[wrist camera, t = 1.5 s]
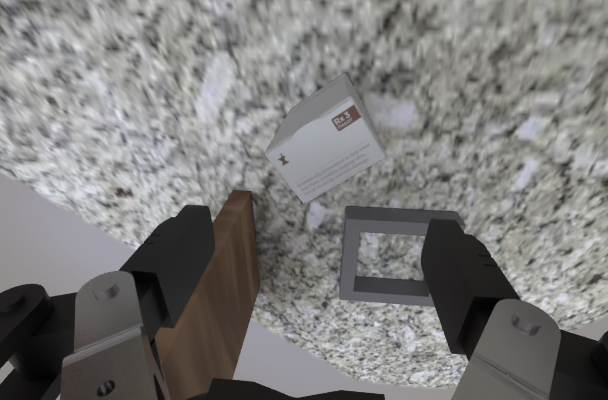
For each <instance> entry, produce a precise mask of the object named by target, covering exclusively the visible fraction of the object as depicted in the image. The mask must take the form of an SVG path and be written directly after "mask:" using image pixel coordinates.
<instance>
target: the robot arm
mask: <svg viewBox="0 0 608 400" xmlns="http://www.w3.org/2000/svg"><path fill="white" fill-rule="evenodd" d="M214 250H215V236H214V230H213V225H212V219H211V213H210V209H209V207H208V206H203V205H185V206H184V207H183V209H182V210H181V211H180V212H179V213H178V215H177V216H176V217H171V218H169V219H168V220H166V221H164V222H163V223H161V224H159V225H158V226H157V228H156V229H155V230H154V231H153V232H152V233H151V236H149V237H148V238H147V239H146V240H145V241H144V244H142V245H141V246H140V247H139V248H138V249H137V250H136V251H135V252H134V254H133V255H132V256H131V257H130V258H129V259H128V261H127V262H126V263H125V264H124V265H123V266H122V267H121V268H120V270H119V271H114V272H108V273H104V274H102V275H99V276H97V277H95V278H93V279H91V280H90V281H88V282H87V283H86V284H85V285H84V286H82V288H81V289H80V290H79V291H78V292H77V293H70V294H65V295H58V296H52V297H49V296H48V294H47V292H46V290H45V289H44V287H43V286H41V285H38V284H25V285H20V286H17V287H13V288H11V289H8V290H6V291H4V292H2V293H0V368H1V367H2V366H3V365H4V364H5V363H6V362H7V361H9V362H10V363H11V364H12V366H13V367H14V369H13V371H12V372H11V373H10V374H9V375H8V376H7V377H6V378H5V380H4V381H3V382H2V383H1V384H0V400H56V398H57V397H58V396H59V394H60V400H171V398H170V395H169V391H168V387H167V383H166V379H165V374H164V370H163V366H162V361H161V357H160V353H159V348H158V344H157V340H156V338H155V335H156V334H157V332H158V330H159V328H160V327H161V328H173V329H174V328H175V326H176V324H177V322H178V320H179V318H180V316H181V314H182V313H183V311H184V309H185V307H186V305H187V303H188V301H189V299H190V298H191V296H192V294H193V292H194V290H195V288H196V286H197V284H198V283H199V281H200V279H201V277H202V275H203V273H204V271H205V269H206V268H207V266H208V264H209V262H210V260H211V258H212V256H213V254H214ZM421 267H422V271H423V274H424V277H425V280H426V283H427V286H428V288H429V291H430V294H431V297H432V300H433V303H434V306H435V308H436V311H437V314H438V317H439V320H440V323H441V326H442V328H443V331H444V334H445V337H446V340H447V343H448V346H449V348H450V351H451V353H452V354H464V355H466V356H467V359H468V361H469V363H468V365H467V367H466V369H465V371H464V373H463V376H462V378H461V380H460V382H459V384H458V386H457V388H456V391H455V393H454V395H453V397H452V399H451V400H608V331H607V332H606V333H604V335H603V336H602V337H601V338H600V340H599V341H596V340H593V339H589V338H586V337H583V336H580V335H576V334H573V333H570V332H567V331H564V330H561V329H559V327H558V325H557V324H556V322H555V321H554V320H553V319H552V318H551V317H550V316H549V315H548V314H547V313H545V312H544V311H543V310H541V309H540V308H538V307H536V306H534V305H532V304H530V303H528V302H525V301H521V299H520V298H519V296H518V295H517V293H516V292H515V290H514V289H513V287H512V286H511V284H510V283H509V281H508V280H507V278H506V277H505V275H504V274H503V272H502V271H501V269H500V268H499V267H497V263H496V262H495V260H494V259H493V258H491V254H490V253H489V251H488V250H487V248H486V247H485V245H484V244H483V243H481V242H480V241H479V240H477V239H476V238H475V237H474V236H472V235H469V234H465V233H464V232H463V230H462V228H461V227H460V225H459V224H458V222H457V221H456V220H455V219H437V218H432V219H431V220H430V222H429V226H428V230H427V234H426V237H425V241H424V245H423V249H422V254H421ZM185 400H385V397H384V394H375V393H365V392H354V391H344V390H340V391H334V392H328V393H322V394H317V395H312V396H306V397H300V398H294V397H291V396H288V395H285V394H283V393H281V392H278V391H276V390H273V389H271V388H268V387H266V386H263V385H261V384H258V383H256V382H251V381H240V380H230V379H220V378H213V379H212V382H211V385H210V388H209V391H208V392H206V393H202V394H198V395H195V396H192V397H190V398H187V399H185Z"/></svg>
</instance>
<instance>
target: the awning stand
mask: <svg viewBox="0 0 608 400" xmlns="http://www.w3.org/2000/svg"><path fill="white" fill-rule="evenodd" d="M212 225H213V230H214V236H215V250H214V254H213V256H212V258H211V260H210V262H209V264H208V266H207V268H206V269H205V271H204V273H203V275H202V277H201V279H200V281H199V283H198V284H197V286H196V288H195V290H194V292H193V294H192V296H191V298H190V299H189V301H188V303H187V305H186V307H185V309H184V311H183V313H182V314H181V316H180V318H179V320H178V322H177V324H176V326H175V328H174V329H173V328H161V327H160V328H159V330H158V332H157V334H156V335H155V338H156V340H157V344H158V348H159V353H160V357H161V361H162V366H163V370H164V374H165V379H166V383H167V387H168V391H169V395H170V398H171V400H185V399H187V398H190V397H192V396H195V395H198V394H202V393H206V392H208V391H209V388H210V385H211V382H212V379H213V378H220V379H230V380H232V379H233V375H234V372H235V368H236V365H237V362H238V358H239V355H240V352H241V348H242V345H243V342H244V338H245V335H246V331H247V328H248V324H249V321H250V318H251V315H252V311H253V308H254V304H255V301H256V298H257V294H258V291H259V288H260V278H259V268H258V257H257V247H256V236H255V225H254V215H253V204H252V194H251V191H236V190H233V191H232V193H231V195H230V196H229V198H228V199H227V201H226V203H225V204H224V206H223V207H222V209H221V211H220V212H219V214H218V215H217V217H216V219H215V220H214V222H213V223H212Z"/></svg>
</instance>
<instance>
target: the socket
mask: <svg viewBox="0 0 608 400" xmlns="http://www.w3.org/2000/svg"><path fill="white" fill-rule="evenodd" d="M432 218H437V219H455V220H456V221H457V222H458V224H459V225H460V227H461V228H462V230H463V232H464V229H465V226H466V225H465V224H464V222H463V220H462V219H461V217H460V216H459V214H458V213H457V212H451V211H431V210H412V209H393V208H373V207H354V206H346V212H345V224H344V236H343V248H342V260H341V271H340V283H339V294H340V300H352V301H365V302H379V303H392V304H405V305H418V306H431V307H435V306H434V303H433V300H432V297H431V294H430V291H429V288H428V286H427V283H426V280H425V277H424V280H423V281H415V280H401V279H387V278H372V277H358V276H355V273H356V264H357V256H358V247H359V239H360V232H369V233H386V234H403V235H420V236H426V234H427V230H428V226H429V222H430V220H431V219H432Z"/></svg>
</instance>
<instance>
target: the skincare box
mask: <svg viewBox="0 0 608 400" xmlns="http://www.w3.org/2000/svg"><path fill="white" fill-rule="evenodd" d="M265 156H266V157H267V158H268V159H269V161H270V162H271V163H272V165H273V166H274V167H275V169H276V170H277V171H278V172H279V174H280V175H281V176H282V177H283V179H284V180H285V181H286V183H287V184H288V185H289V186H290V188H291V189H292V190H293V191H294V193H295V194H296V195H297V196H298V198H299V199H300V200H301V201H302V202H303V203H304V204H305V203H307V202H309V201H310V200H312V199H314V198H316V197H317V196H319V195H321V194H323V193H324V192H326V191H328V190H330V189H331V188H333V187H335V186H336V185H338V184H340V183H342V182H343V181H345V180H347V179H349V178H350V177H352V176H354V175H356V174H357V173H359V172H361V171H363V170H364V169H366V168H368V167H370V166H371V165H373V164H375V163H377V162H378V161H380V160H382V159H384V158H386V156H387V155H386V152H385V150H384V147H383V145H382V143H381V141H380V139H379V136H378V134H377V132H376V129H375V127H374V125H373V122H372V120H371V118H370V115H369V113H368V111H367V110H366V108H365V106H364V105H363V103H362V101H361V99H360V98H359V96H358V94H357V92H356V91H355V89H354V87H353V85H352V83H351V81H350V80H349V78H348V76H347V74H346V73H343V74H342V75H340V76H339V77H337V78H336V79H334V80H333V81H331V82H330V83H329V84H327V85H326V86H324V87H323V88H321V89H320V90H318V91H317V92H315V93H314V94H313V95H311V96H310V97H308V98H307V99H305V100H304V101H302V102H301V103H299V104H298V105H297V106H295V107H294V108H292V109H291V110H290V112H289V113H288V115H287V116H286V118H285V120H284V121H283V123H282V125H281V127H280V128H279V130H278V132H277V133H276V135H275V137H274V138H273V140H272V141H271V143H270V145H269V146H268V148H267V150H266V151H265Z"/></svg>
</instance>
